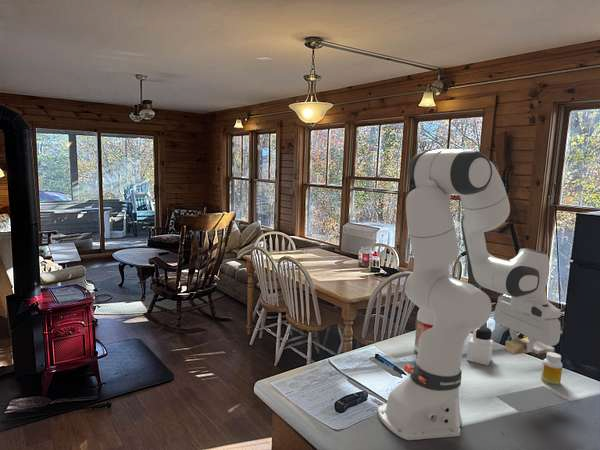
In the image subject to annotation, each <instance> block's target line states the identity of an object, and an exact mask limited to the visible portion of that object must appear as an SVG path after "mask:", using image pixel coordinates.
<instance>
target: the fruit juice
mask: <svg viewBox="0 0 600 450" xmlns="http://www.w3.org/2000/svg"><path fill="white" fill-rule="evenodd" d="M434 321H435V317H434V315H433V314H431V313H429V312H427V311H425V310H423V309H421V308H419V309H418V311H417V315H416V328H415V339H414V350H415V352H416V353H418V346H419V337H420V335H421V334H422V333H423V332H424V331H426V330H428V329H430V328H432V327H433V325H434Z"/></svg>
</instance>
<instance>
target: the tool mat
mask: <svg viewBox="0 0 600 450" xmlns="http://www.w3.org/2000/svg"><path fill="white" fill-rule="evenodd" d="M495 397H496V398H497V399H499V400H500V401H502V402H504V403H505V404H507V405H508V406H509V407H511V408H513V410H516V411H517V412H519V413H520V414H525V413H529V412H533V411H537V410H541V409H545V408H546V409H547V408H549V407H550V408H551V407H554V406H557V405H561V404H565V403H570V402H572V401H571V399H570V400H569V399H568V398H567V397H564V396H563V395H561V394H558V393H557V392H556V391H554V390H551V389H550V388H548V387H546V386H545V385H543V386H542V385H541V386H537V387H531V388H527V389H523V390H519V391H514V392H509V393H505V394H500V395H496V396H495Z"/></svg>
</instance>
